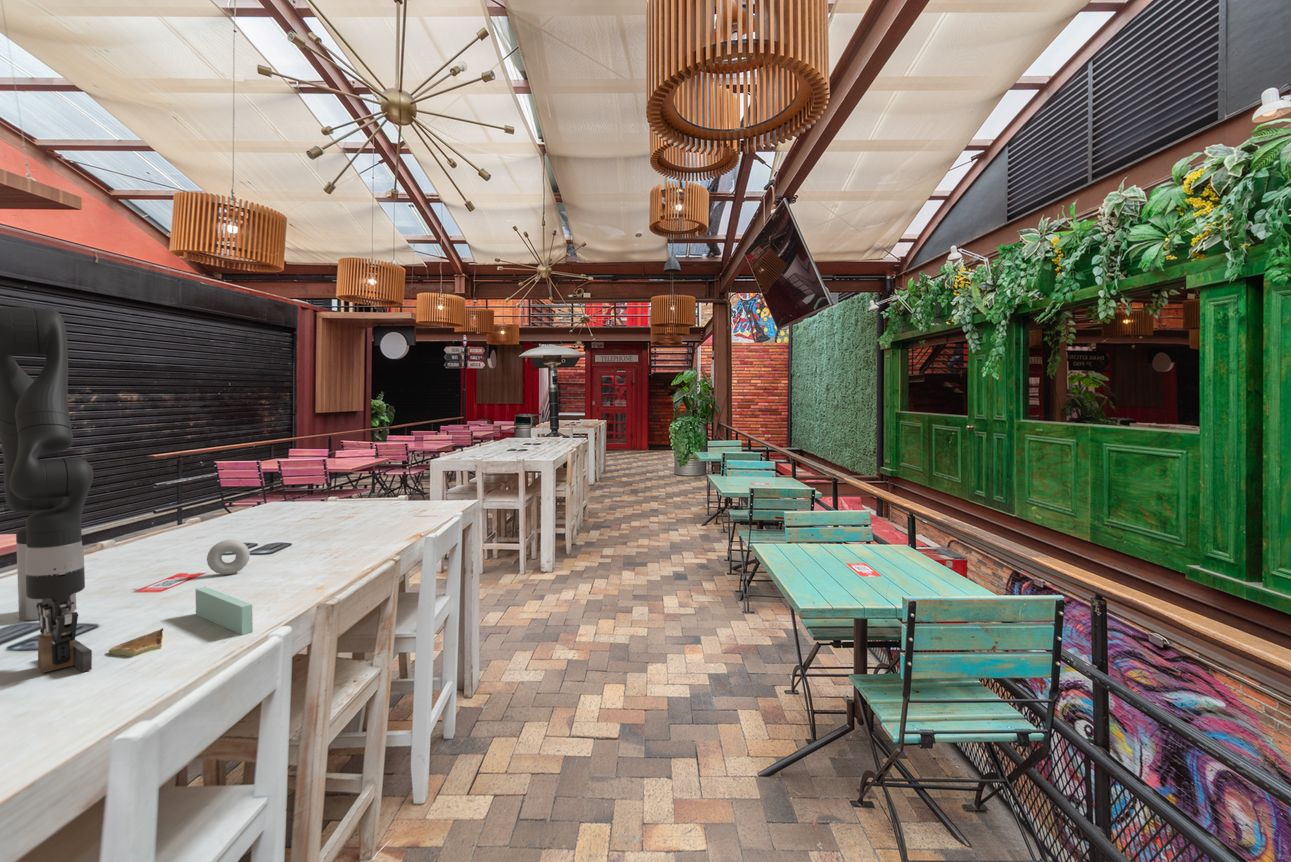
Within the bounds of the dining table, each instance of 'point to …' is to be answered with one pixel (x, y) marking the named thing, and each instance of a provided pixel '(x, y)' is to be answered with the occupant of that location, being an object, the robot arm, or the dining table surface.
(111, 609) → the dining table surface
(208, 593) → the stop rail
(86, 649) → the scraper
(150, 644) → the shard
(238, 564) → the donut
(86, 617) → the dining table surface
